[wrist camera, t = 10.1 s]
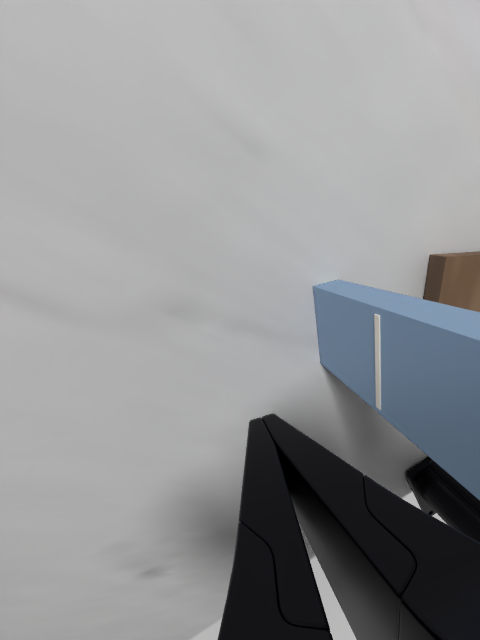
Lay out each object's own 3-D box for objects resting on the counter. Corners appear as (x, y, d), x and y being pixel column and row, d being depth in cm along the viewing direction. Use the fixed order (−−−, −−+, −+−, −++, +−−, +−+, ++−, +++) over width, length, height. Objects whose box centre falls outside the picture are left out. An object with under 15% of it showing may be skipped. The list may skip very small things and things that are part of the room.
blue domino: (339, 279, 14) (633, 347, 5) (344, 355, 16) (571, 514, 7) (311, 286, 14) (568, 371, 5) (319, 363, 16) (521, 538, 6)
